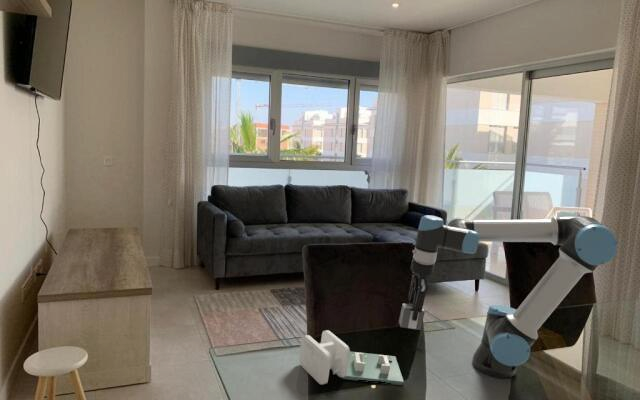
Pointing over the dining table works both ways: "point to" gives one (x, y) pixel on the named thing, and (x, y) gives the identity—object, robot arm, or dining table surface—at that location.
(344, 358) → the cable organizer
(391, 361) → the board
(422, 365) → the dining table surface
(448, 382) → the dining table surface
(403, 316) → the plug
